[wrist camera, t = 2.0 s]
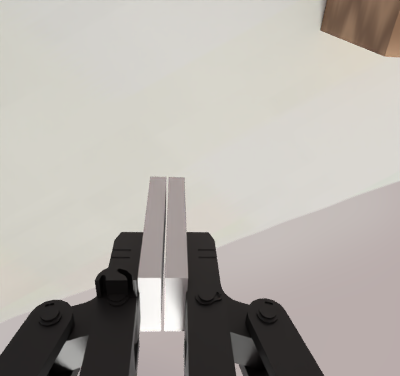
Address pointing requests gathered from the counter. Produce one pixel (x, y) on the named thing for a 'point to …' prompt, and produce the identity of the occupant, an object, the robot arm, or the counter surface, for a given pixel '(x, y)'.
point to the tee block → (365, 24)
